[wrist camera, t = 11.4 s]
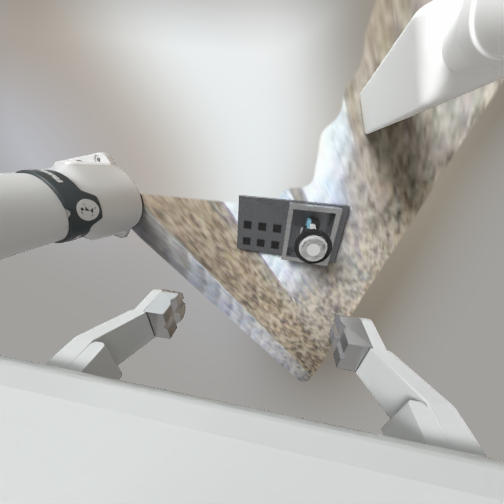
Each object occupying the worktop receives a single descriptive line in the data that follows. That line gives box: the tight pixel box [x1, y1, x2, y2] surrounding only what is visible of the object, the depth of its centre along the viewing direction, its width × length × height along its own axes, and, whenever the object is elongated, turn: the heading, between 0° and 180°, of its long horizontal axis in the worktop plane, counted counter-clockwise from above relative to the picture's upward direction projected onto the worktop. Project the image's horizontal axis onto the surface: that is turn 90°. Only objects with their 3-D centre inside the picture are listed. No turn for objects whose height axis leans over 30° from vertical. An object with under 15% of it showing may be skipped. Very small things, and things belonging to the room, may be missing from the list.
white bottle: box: [360, 0, 504, 134], centre depth 17 cm, size 6×6×22 cm
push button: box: [294, 218, 332, 264], centre depth 31 cm, size 7×5×10 cm
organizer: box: [237, 195, 350, 266], centre depth 35 cm, size 20×11×4 cm, turn 86°
